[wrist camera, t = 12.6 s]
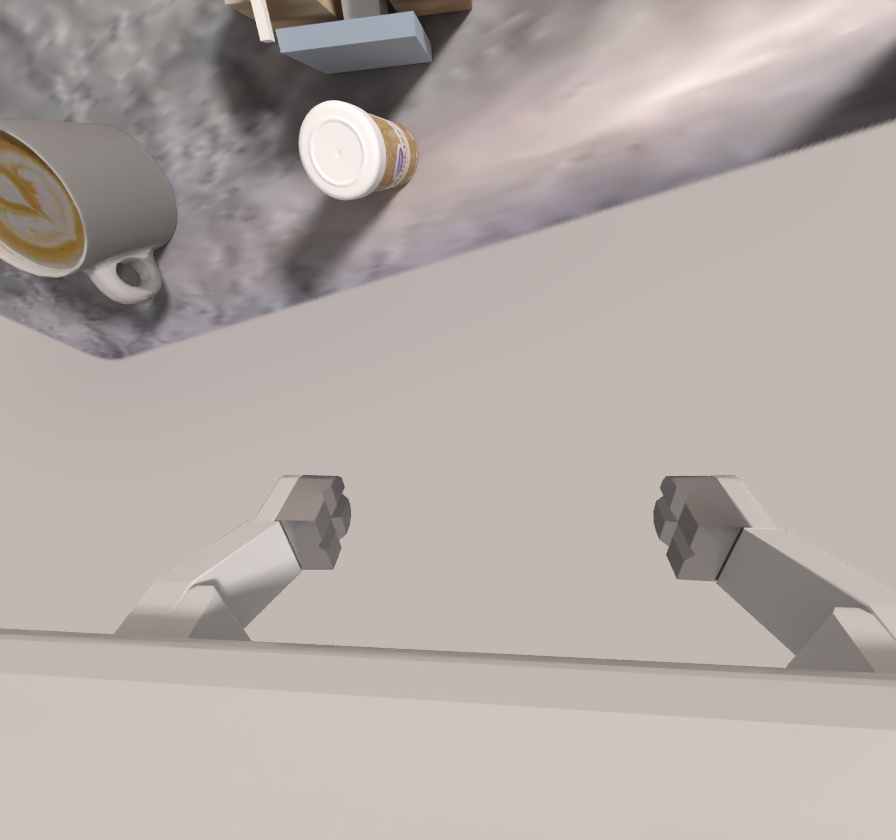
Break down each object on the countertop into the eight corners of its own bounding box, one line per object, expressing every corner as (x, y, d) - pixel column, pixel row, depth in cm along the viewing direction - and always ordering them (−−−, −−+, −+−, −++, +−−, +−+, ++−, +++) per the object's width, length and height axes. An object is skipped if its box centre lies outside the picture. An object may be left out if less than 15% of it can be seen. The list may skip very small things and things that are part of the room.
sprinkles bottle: (420, 186, 34) (383, 200, 22) (368, 187, 34) (306, 202, 23) (417, 118, 31) (372, 96, 20) (360, 120, 32) (286, 101, 20)
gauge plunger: (425, -36, 26) (401, -103, 19) (432, 61, 29) (414, 33, 22) (298, -17, 27) (231, -75, 20) (316, 75, 30) (263, 52, 23)
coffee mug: (36, 134, 34) (-109, 130, 26) (138, 113, 32) (19, 102, 24) (127, 291, 41) (37, 327, 33) (213, 280, 40) (141, 314, 32)
